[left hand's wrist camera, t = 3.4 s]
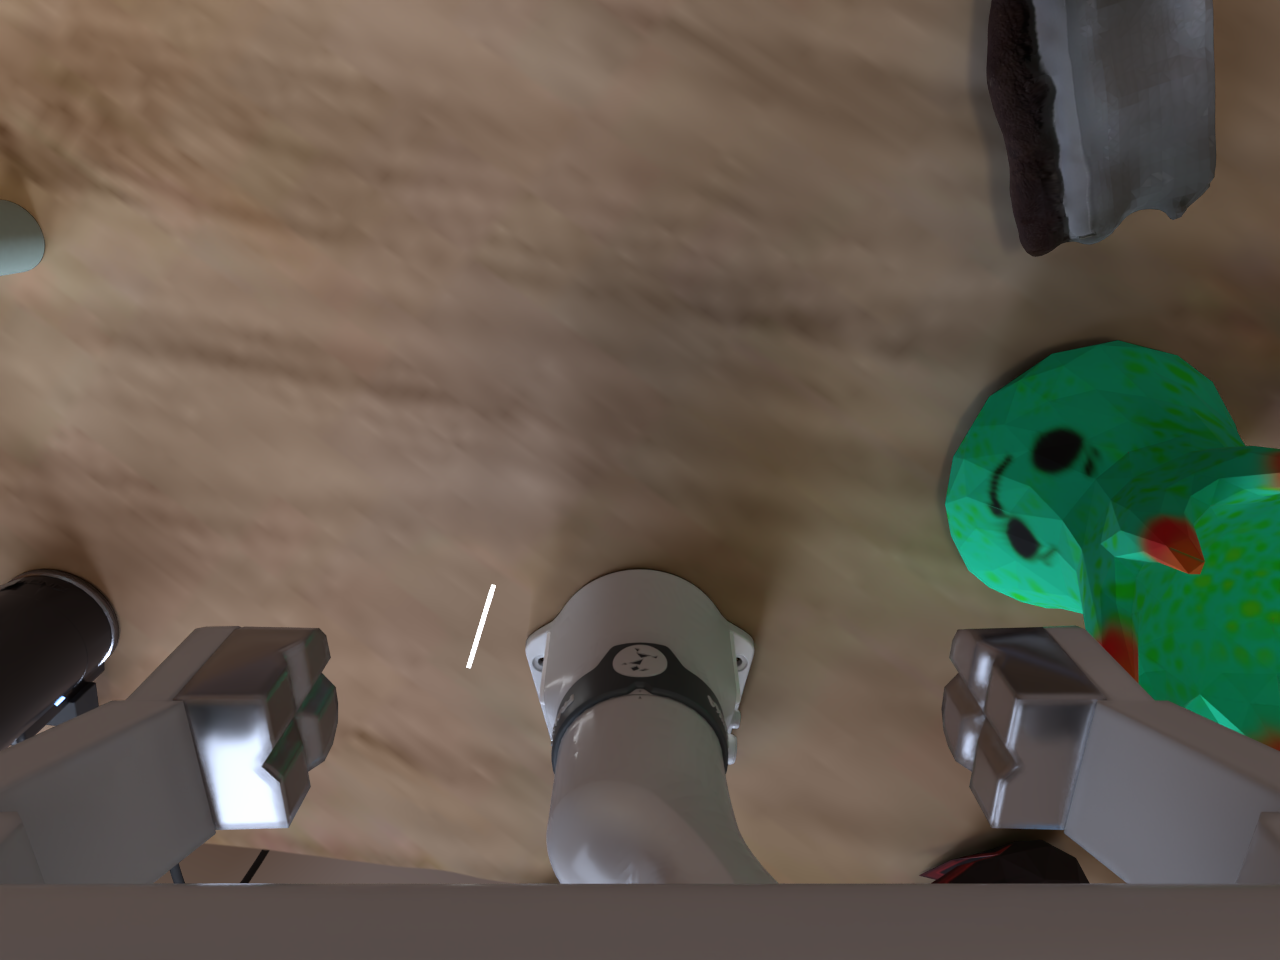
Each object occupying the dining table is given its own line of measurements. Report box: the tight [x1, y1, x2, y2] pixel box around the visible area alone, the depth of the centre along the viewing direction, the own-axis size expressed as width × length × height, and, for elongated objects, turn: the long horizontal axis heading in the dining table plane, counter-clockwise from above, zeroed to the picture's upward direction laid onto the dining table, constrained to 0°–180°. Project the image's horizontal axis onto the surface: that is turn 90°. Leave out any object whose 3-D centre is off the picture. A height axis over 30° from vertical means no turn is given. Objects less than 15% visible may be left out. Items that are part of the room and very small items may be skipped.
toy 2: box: [945, 340, 1280, 751], centre depth 49 cm, size 20×20×25 cm
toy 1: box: [919, 840, 1090, 884], centre depth 71 cm, size 12×9×15 cm
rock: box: [987, 0, 1216, 257], centre depth 47 cm, size 18×11×8 cm, turn 18°
